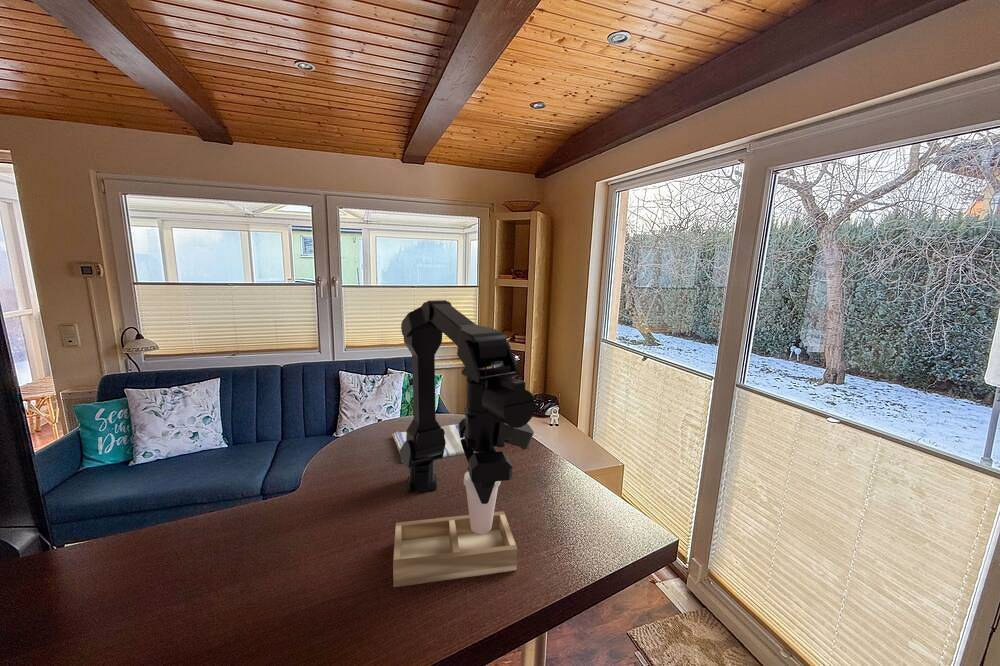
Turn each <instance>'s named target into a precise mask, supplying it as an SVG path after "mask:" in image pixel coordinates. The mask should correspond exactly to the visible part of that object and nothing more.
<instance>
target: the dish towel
mask: <svg viewBox="0 0 1000 666" xmlns="http://www.w3.org/2000/svg"><path fill="white" fill-rule="evenodd" d="M440 427H441V428H443V430H444V432H445V434H444V438H445V442H446V444H445V449H444V454H443V458H447V457H452V456H453V457H454V456H460V455H461V456H462V455H465V453H464V451H463V448H462V444H461V439H465V437H463V438H460V436H459V423H454V424H450V425H443V426H440ZM406 433H407V431H395V432H393V433H392V434H391V435H392V437H393V441H394V442H395V445H396V447H397V450H398V453H399V454H400V449H401V447H402V446H403V444H404V443H405V441H406ZM400 460H401V459H400ZM401 463H402V464H404V463H403V462H402V460H401Z"/></svg>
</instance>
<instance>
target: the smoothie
mask: <svg viewBox="0 0 1000 666" xmlns="http://www.w3.org/2000/svg"><path fill="white" fill-rule="evenodd" d="M501 482H502V481H496V482H495V484H494V487H493V490H492V493H491V496H490V499H489V502H488V503H487V504H482V503H481V501H480V499H479V496H478V494H477V491H476V489H475V487H474V484H473V482H472V481H471V478H470V475H469V471H468V470H467V471H466V472H465V473H464V476H463V485H464V486H465V490H466V499H467V500H466V501H467V506H468V508H467V509H468V515H469V517H470V526H471V530H472V531H473V532H475V533H478V534H484V533H487V532H489V531H490V530H491V528H492V522H493V516H494V512H495V509H496V501H497V495H498V491H499V490H498V489H499V486H500V485H501Z"/></svg>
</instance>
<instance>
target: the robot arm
mask: <svg viewBox="0 0 1000 666" xmlns="http://www.w3.org/2000/svg"><path fill="white" fill-rule="evenodd" d="M400 327H401V328H400V329H401V330H400V331H401V333H402V336H403V343H404V344H405V346H406V347H407V349H408V350H409V352H410V354H411V360H412V361H411V362H412V363H411V365H412V366H411V368H412V369H411V370H412V401H413V402H412V404H413V405H412V406H413V407H412V408H413V409H412V410H413V419H412V421H411V423H410V424H409V426H408V427H407V429H406V432H407V433H406V441H405V443H404V444H403V446H402V447H401V449H400V453H399V456H400V457H399V458H400V460H402V461H401V463H402V462H403V463H402V464H404V466H406V468H407V469H408V473H409V474H408V475H407V489H406V491H407V493H417V492H418V493H419V492H427V491H428V492H429V491H430V492H431V491H437V490H438V485H437V483H438V482H437V474H436V473H435V461H437V460H442V459H444V457H443V454H444V449H445V444H446V442H445V438H444V434H445V432H444V430H443V428H441V427H442V426H441V425H440V424H439V422H438V421H437V417H436V414H437V413H436V410H437V409H436V369H435V367H436V361H435V359H436V358H435V357H436V354H437V352H438V350H439V348H440V347H441V345H442V344H443V334H444V335H445V336H446V337H447V338H448V339H450V341H451V342H453V343H454V344H455V346H456V347H457V352H456V356H457V357H458V358H459V360H460V361H461V362H462V364H463V366H464V368H463V369H462V370H461V372H460V373H461V375H463V376H464V377H466V383H465V384H466V388H465V389H466V390H465V392H466V394H465V395H466V399H465V400H466V401H465V407H463V409H464V411H463V414H464V416H465V417H464V418H463V419H461V421H459V423H458V424H459V436H460V438H463V437H465V439H461V444H462V448H463V451H464V453H465V454H464V456H465V459H466V461H467V464H468V467H467V471H469V475H470V478H471V481H472V482H473V484H474V487H475V489H476V491H477V494H478V496H479V499H480V501H481V503H482V504H487V503H488V502H489V499H490V496H491V493H492V490H493V487H494V484H495V482H496V481H501V482H502V481H510V480H511V479H512V478H513V464H512V463H511V461H510V459H509V457H508V455H507V454H506V453H504V452H503V451H496V448H505V444H508V445H511V446H515V447H518V448H520V449H522V450H523V451H524V450H525V451H527V450H528V449H529V446H530V443H531V441H532V439H533V437H534V434H535V432H534V429H532V427H531V426H530V424H529V422H530V421H531V420H532V418H533V416H534V414H535V412H536V411H535V410H536V401H535V397H534V395H533V394H532V392H531V391H529V390H527V389H526V382H525V380H522V379H518V378H515V377H518V376H520V371H519V368H518V365H519V363H518V362H517V359H516V358H515V356H514V354H513V352H512V351H513V350H512V348H511V345H510V343H509V341H508V338H507V337H506V335H505V333H503V331H501V330H497V329H496V328H493V327H490V326H489V327H488V326H483V325H478V324H476V323H474V322H473V320H471V319H469V318H468V317H467V316H466V315H464V314H463V313H462V312H461V311H459V310H458V309H456V308H455V307H454V306H452V304H451V302H450V301H447V300H446V299H442V300H441V299H438V300H435V299H434V300H427V301H424V302H423V303H422V305H421V306H420V307H418V308H415V309H414V310H412V311H410V312H408V313H407V314H406V315H405V317H404V318H403V320H402V321H401V324H400ZM502 365H503V366H502ZM495 366H496V367H495ZM497 366H498V367H497ZM489 367H490V368H489ZM495 447H496V448H495Z"/></svg>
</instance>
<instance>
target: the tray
mask: <svg viewBox="0 0 1000 666" xmlns="http://www.w3.org/2000/svg"><path fill="white" fill-rule="evenodd" d="M506 516H507V515H506V513H505V512H504V511H494V516H493V522H492V528H491V530H490V531H489V532H487V533H484V534H478V533H475V532H473V531H472V530H471V526H470V517H469V514H467V515H466V514H465V515H464V514H463V515H455V516H447V517H438V518H430V519H429V518H428V519H420V520H410V521H408V520H407V521H401V522H395V528H394V529H395V531H394V547H393V561H392V568H393V569H392V571H393V572H392V573H393V576H392V577H393V578H392V579H393V588H397V587H404V586H405V587H406V586H413V585H420V584H427V583H434V582H442V581H448V580H456V579H463V578H470V577H476V576H477V577H478V576H484V575H485V576H486V575H491V574H492V575H493V574H498V573H506V572H513V571H514V572H515V571H517V570H518V569H517V568H518V547H517V543H516V541H515V539H514V536H513V534H512V530H511V528H510V524H509V522H508V519H507V517H506Z"/></svg>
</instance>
